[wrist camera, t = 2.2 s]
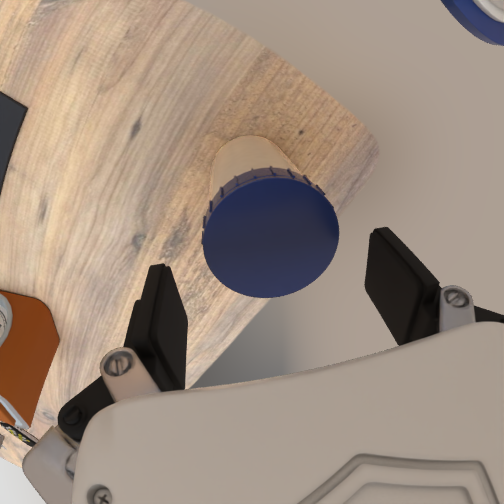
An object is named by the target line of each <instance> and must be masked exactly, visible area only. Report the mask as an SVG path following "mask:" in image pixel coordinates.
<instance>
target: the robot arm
mask: <svg viewBox="0 0 504 504" xmlns="http://www.w3.org/2000/svg"><path fill="white" fill-rule="evenodd" d="M473 1H474V3H475V4H476V5H477V6H478V7H479V8H480V9H481V10H482V11H483V12H484V13H485V14H487V15H488V16H489V17H490V18H492V19H494V20H496V21H498V22H501V23H504V0H473ZM439 283H440V282H439V281H438V280H437V279H436V278H435V277H434V275H433V274H432V273H431V272H430V271H429V270H428V269H427V268H426V267H425V266H424V264H423V263H422V262H421V261H420V260H419V259H418V258H417V257H416V256H415V255H414V254H413V252H412V251H410V249H409V248H408V247H407V246H406V245H405V244H404V243H403V242H402V241H401V240H400V239H399V238H398V237H397V236H396V235H395V234H394V233H393V232H392V231H391V230H390V229H389V228H388V227H383V228H377V229H374V231H373V233H371V234H370V239H369V250H368V259H367V268H366V277H365V289H366V292H367V294H368V295H369V297H370V298H371V300H372V302H373V303H374V305H375V307H376V308H377V310H378V311H379V313H380V314H381V316H382V318H383V320H384V322H385V323H386V325H387V327H388V328H389V330H390V332H391V334H392V335H393V337H394V339H395V341H396V342H397V344H398V345H399V346H398V347H395V348H391V349H388V350H385V351H381V352H378V353H374V354H371V355H367V356H364V357H360V358H356V359H352V360H348V361H345V362H341V363H337V364H333V365H328V366H324V367H320V368H315V369H311V370H306V371H301V372H297V373H292V374H287V375H281V376H276V377H271V378H266V379H259V380H253V381H247V382H240V383H234V384H227V385H220V386H211V387H203V388H195V389H186V390H184V389H185V374H186V350H187V331H188V319H187V315H186V312H185V309H184V306H183V304H182V301H181V298H180V295H179V292H178V289H177V286H176V283H175V280H174V277H173V274H172V271H171V268H170V267H169V266H167V267H166V266H165V264H164V263H163V264H157V265H151V266H150V267H149V271H148V274H147V278H146V281H145V285H144V289H143V292H142V296H141V300H136V301H135V304H134V307H133V311H132V314H131V318H130V322H129V326H128V330H127V334H126V338H125V342H124V346H123V347H120V348H116V349H114V350H111V351H110V352H108V353H107V354H106V355H105V356H104V357H103V359H102V361H101V363H100V373H101V375H102V376H100V377H99V378H98V379H97V380H95V381H94V382H93V383H91V384H90V385H89V386H88V387H86V388H85V389H84V390H83V391H81V392H80V393H79V394H77V395H76V396H75V397H74V398H72V399H71V400H70V401H69V402H67V403H66V404H65V405H64V406H63V407H62V408H61V410H60V412H59V414H58V425H57V426H56V427H54V426H51V428H50V429H49V430H48V431H47V432H46V433H45V434H44V435H43V436H42V437H41V439H40V440H39V441H38V442H37V443H36V444H35V445H34V446H33V447H32V449H31V450H30V451H29V452H28V453H27V454H26V455H25V457H24V459H23V463H22V469H23V472H24V474H25V476H26V477H27V478H28V480H29V481H30V483H31V484H32V485H33V487H34V488H35V490H37V492H38V493H39V495H40V496H41V497H42V498H43V500H44V501H45V502H46V503H47V504H504V315H501V314H498V313H495V312H492V311H489V310H486V309H483V308H480V307H477V306H474V305H473V299H472V296H471V295H470V294H469V292H467V291H466V290H465V289H463V288H461V287H458V286H454V285H450V286H446V287H444V288H441V287H440V286H439Z"/></svg>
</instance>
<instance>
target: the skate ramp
mask: <svg viewBox="0 0 504 504" xmlns="http://www.w3.org/2000/svg"><path fill="white" fill-rule="evenodd" d="M3 439H4V436H3V435H1V434H0V448H1V447H3V448H4V449H6V448H5V447H4V446H3V445H2V443H3Z"/></svg>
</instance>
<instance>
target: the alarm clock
mask: <svg viewBox="0 0 504 504" xmlns="http://www.w3.org/2000/svg"><path fill="white" fill-rule="evenodd" d="M58 345H59V337H58V334H57V331H56V328H55V325H54V322H53V319H52V316H51V313H50V311H49V309H48V308H47V307H46V305H45V304H43V303H42V302H41V301H39V300H37V299H35V298H31V297H26V296H22V295H17V294H12V293H8V292H4V291H0V421H3V422H5V423H8V424H10V425H12V426H17V427H19V428H23V429H29V428H30V427H31V423H32V420H33V416H34V413H35V410H36V406H37V403H38V400H39V397H40V394H41V391H42V388H43V385H44V382H45V379H46V377H47V374H48V371H49V368H50V366H51V363H52V360H53V358H54V355H55V353H56V350H57V348H58Z"/></svg>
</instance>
